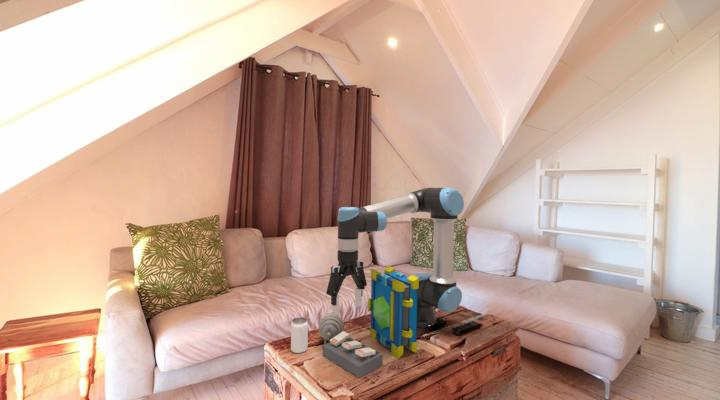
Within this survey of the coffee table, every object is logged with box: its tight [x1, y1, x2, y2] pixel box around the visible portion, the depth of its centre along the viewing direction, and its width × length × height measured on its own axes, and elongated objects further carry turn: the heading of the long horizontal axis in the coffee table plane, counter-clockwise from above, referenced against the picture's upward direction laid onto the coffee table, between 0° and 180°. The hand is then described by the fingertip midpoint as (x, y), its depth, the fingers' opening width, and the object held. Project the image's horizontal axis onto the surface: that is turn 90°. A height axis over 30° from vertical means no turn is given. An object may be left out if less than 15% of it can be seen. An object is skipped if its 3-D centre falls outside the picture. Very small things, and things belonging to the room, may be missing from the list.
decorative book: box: [367, 265, 419, 360], centre depth 133 cm, size 14×23×30 cm, turn 29°
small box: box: [355, 346, 377, 357], centre depth 117 cm, size 7×4×2 cm, turn 135°
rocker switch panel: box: [322, 337, 384, 379], centre depth 122 cm, size 12×20×5 cm, turn 44°
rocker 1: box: [329, 330, 351, 346], centre depth 127 cm, size 7×4×2 cm, turn 134°
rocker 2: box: [342, 340, 363, 350], centre depth 122 cm, size 7×4×2 cm, turn 134°
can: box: [290, 316, 309, 354], centre depth 129 cm, size 6×6×12 cm
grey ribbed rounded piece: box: [318, 312, 345, 345], centre depth 136 cm, size 11×17×11 cm, turn 3°
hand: (347, 309), depth 119 cm, fingers open, 10 cm apart
